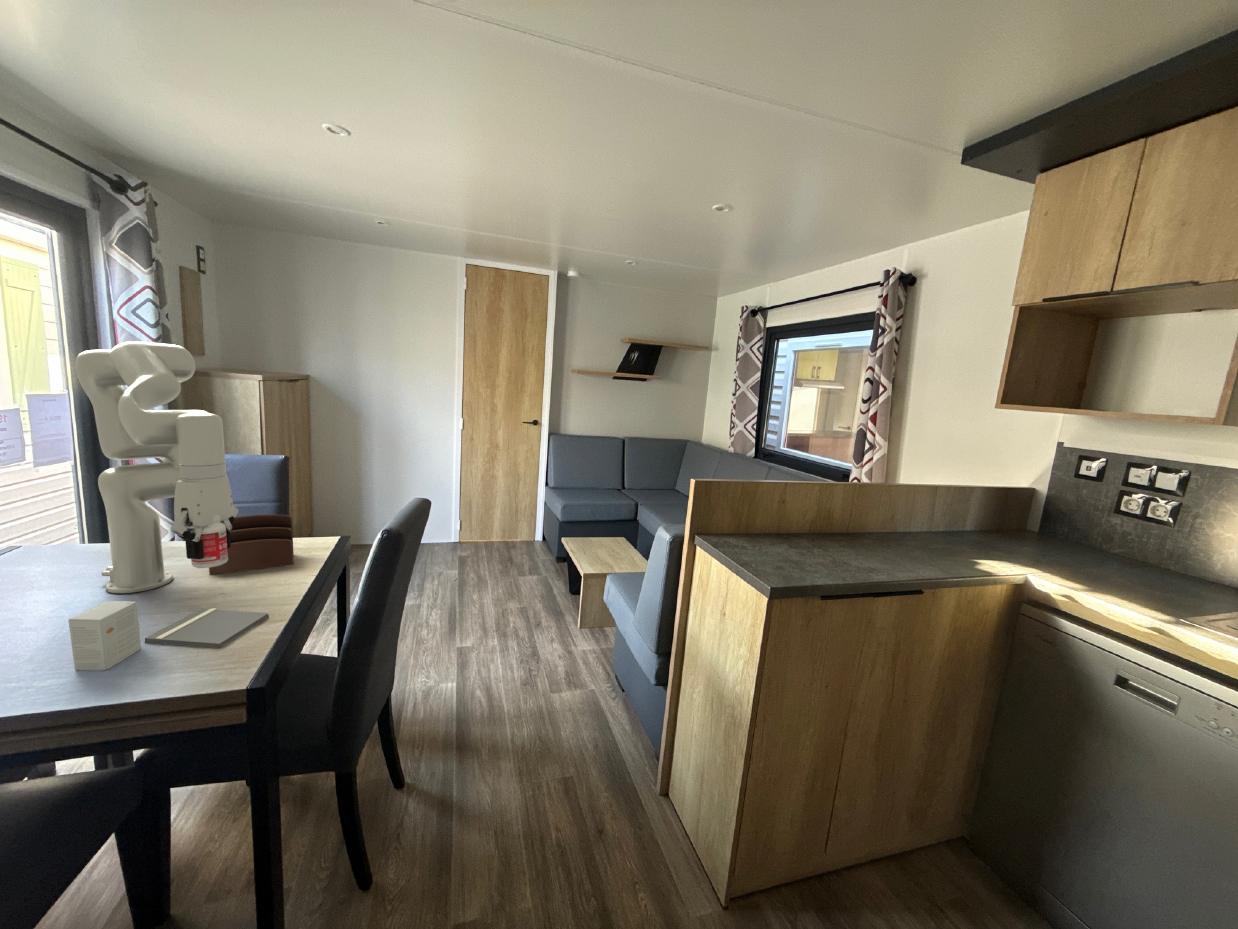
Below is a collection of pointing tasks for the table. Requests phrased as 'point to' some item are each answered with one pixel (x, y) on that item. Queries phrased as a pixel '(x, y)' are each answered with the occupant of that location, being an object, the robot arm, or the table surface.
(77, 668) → the small box
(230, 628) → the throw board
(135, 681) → the table surface
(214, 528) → the pill bottle
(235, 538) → the letter holder
